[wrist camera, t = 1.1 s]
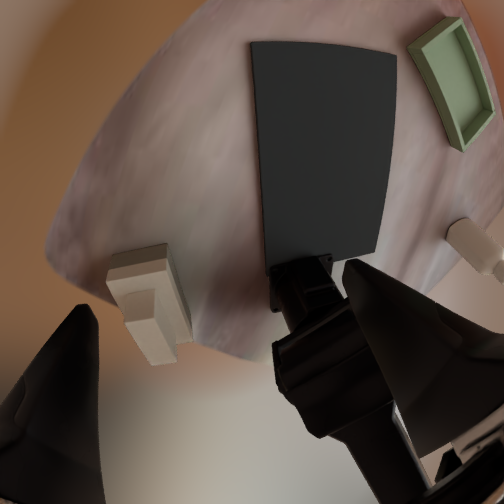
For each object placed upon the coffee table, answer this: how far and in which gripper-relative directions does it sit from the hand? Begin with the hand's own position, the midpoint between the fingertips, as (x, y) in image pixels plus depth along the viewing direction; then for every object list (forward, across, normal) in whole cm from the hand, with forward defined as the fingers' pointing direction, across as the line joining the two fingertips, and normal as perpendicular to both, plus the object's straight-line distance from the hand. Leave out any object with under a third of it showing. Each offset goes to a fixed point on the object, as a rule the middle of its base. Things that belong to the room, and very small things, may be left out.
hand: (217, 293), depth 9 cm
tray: (+13, -25, -8) cm, 29 cm away
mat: (+13, -10, +1) cm, 17 cm away
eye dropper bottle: (+13, -32, +10) cm, 36 cm away
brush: (+13, +6, +11) cm, 18 cm away
